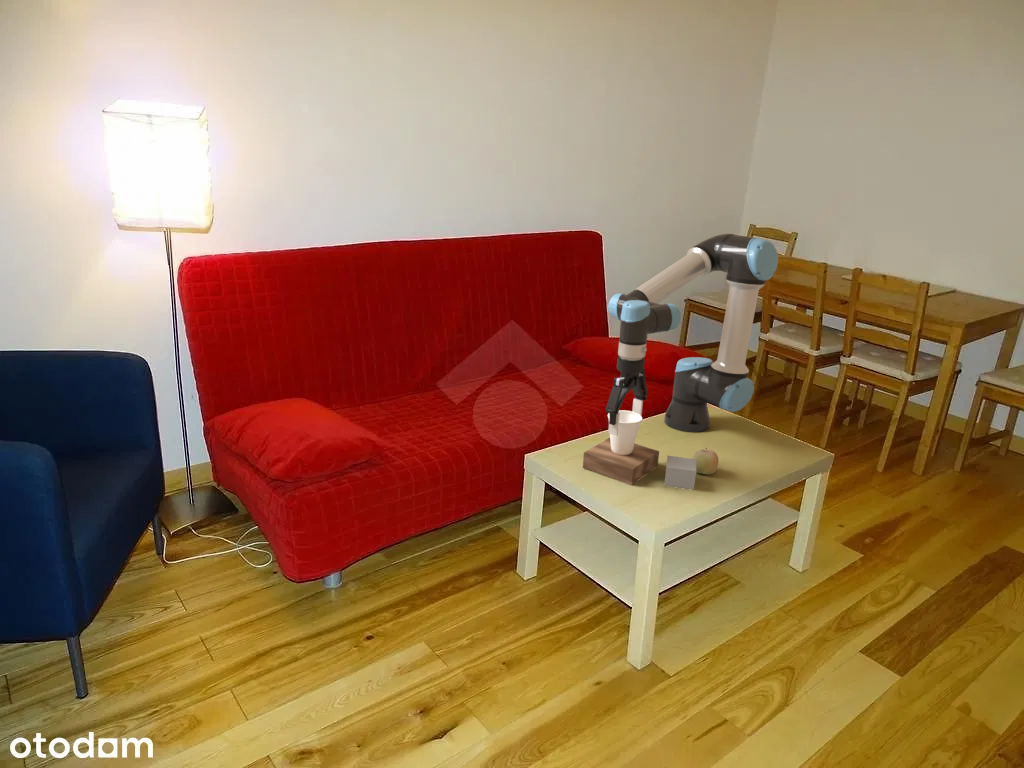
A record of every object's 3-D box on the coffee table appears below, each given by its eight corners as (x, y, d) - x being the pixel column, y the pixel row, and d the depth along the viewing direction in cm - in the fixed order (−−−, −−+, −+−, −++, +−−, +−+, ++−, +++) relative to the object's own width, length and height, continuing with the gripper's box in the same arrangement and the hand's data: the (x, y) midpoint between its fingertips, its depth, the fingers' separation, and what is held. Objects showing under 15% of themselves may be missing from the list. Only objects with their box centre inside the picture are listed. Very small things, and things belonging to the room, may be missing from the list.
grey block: (665, 474, 207) (667, 455, 205) (693, 478, 205) (696, 459, 203) (664, 486, 199) (666, 467, 197) (693, 490, 198) (696, 471, 196)
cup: (597, 448, 209) (600, 413, 205) (622, 441, 214) (625, 407, 211) (620, 461, 201) (624, 425, 198) (645, 453, 207) (649, 418, 203)
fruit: (709, 480, 204) (713, 454, 201) (686, 472, 208) (689, 447, 206) (721, 472, 209) (725, 447, 206) (699, 464, 214) (702, 439, 211)
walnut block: (610, 451, 220) (611, 436, 218) (657, 466, 211) (659, 451, 209) (582, 468, 208) (583, 452, 206) (631, 485, 199) (633, 469, 197)
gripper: (621, 370, 187) (614, 444, 194) (663, 349, 205) (656, 418, 213) (596, 363, 191) (590, 436, 198) (640, 344, 210) (634, 411, 217)
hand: (624, 427), depth 205 cm, fingers open, 13 cm apart
